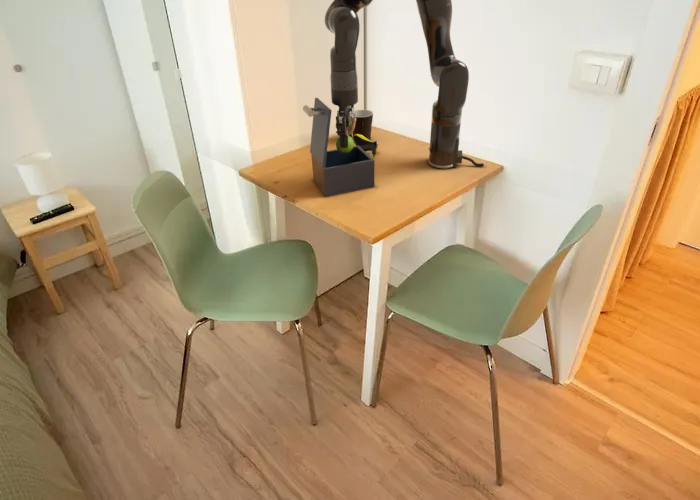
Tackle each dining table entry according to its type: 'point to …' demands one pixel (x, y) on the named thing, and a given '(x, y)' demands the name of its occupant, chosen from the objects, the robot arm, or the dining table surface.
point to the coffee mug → (363, 123)
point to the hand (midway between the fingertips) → (346, 143)
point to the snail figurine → (350, 140)
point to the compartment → (344, 172)
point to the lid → (319, 130)
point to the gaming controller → (366, 144)
